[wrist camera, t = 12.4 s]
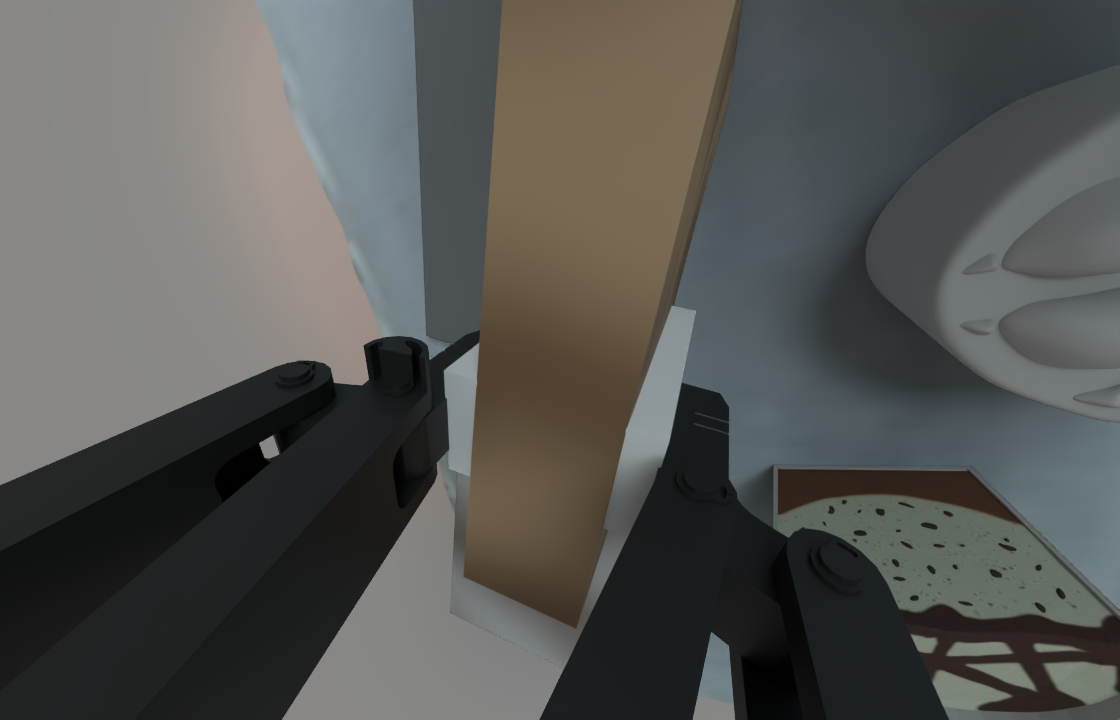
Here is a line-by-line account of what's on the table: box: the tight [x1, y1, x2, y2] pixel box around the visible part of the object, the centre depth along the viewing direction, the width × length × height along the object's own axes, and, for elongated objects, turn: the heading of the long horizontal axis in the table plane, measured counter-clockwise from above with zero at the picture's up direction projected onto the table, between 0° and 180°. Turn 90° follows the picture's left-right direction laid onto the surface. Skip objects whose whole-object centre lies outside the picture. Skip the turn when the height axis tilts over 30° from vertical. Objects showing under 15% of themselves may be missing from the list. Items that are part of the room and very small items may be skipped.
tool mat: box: [413, 0, 502, 344], centre depth 21 cm, size 30×13×1 cm, turn 172°
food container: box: [773, 465, 1120, 720], centre depth 20 cm, size 12×6×10 cm, turn 106°
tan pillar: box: [450, 0, 743, 669], centre depth 12 cm, size 20×8×8 cm, turn 173°
